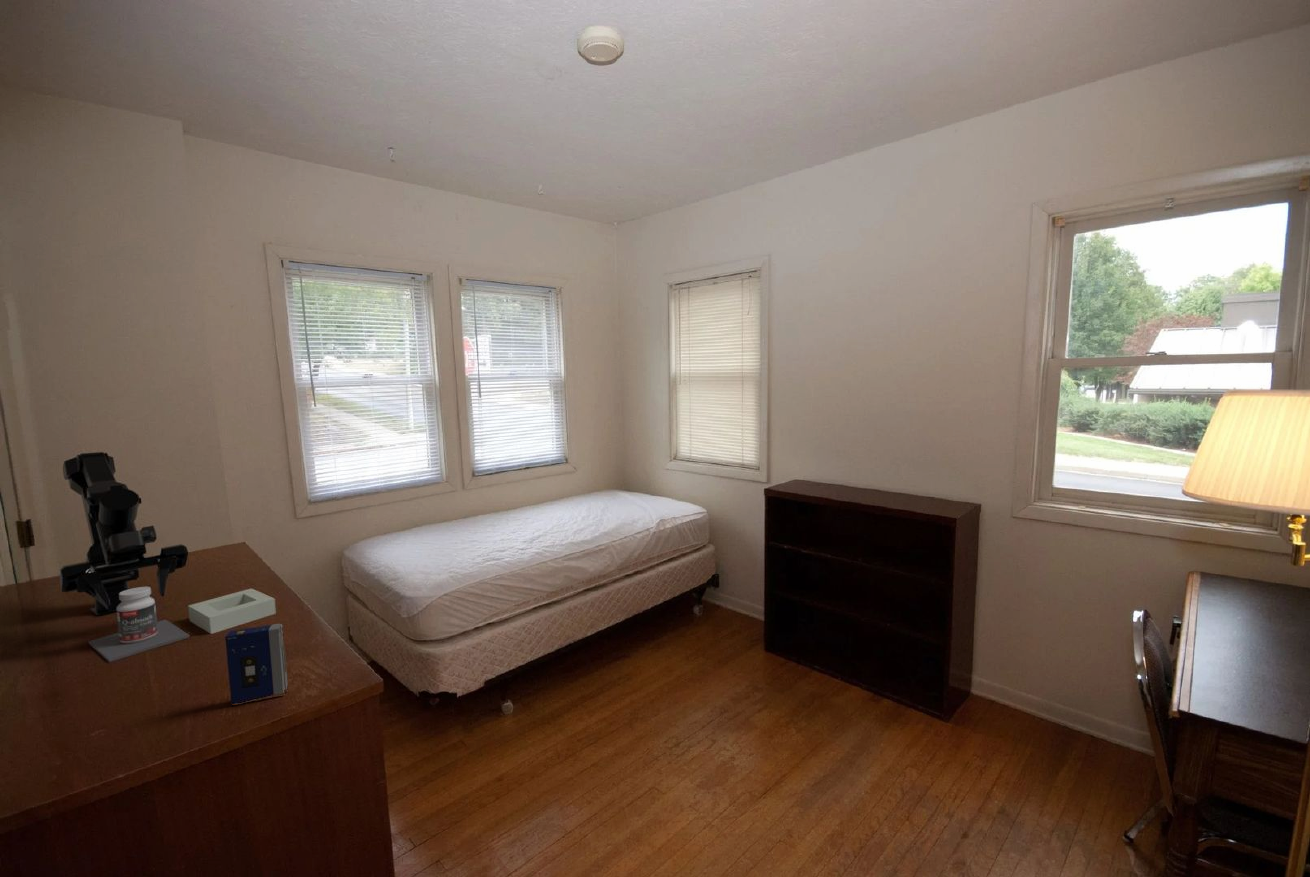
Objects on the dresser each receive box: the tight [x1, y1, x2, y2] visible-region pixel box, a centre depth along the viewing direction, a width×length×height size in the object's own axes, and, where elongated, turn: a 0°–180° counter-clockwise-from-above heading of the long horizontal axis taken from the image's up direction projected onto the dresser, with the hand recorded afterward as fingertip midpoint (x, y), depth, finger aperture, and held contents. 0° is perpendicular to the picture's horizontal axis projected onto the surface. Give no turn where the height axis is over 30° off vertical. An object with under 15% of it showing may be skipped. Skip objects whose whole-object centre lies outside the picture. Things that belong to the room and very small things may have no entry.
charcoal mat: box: [88, 619, 190, 663], centre depth 111 cm, size 14×12×1 cm
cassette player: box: [224, 622, 289, 705], centre depth 90 cm, size 7×2×12 cm, turn 114°
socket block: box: [187, 588, 277, 635], centre depth 122 cm, size 12×12×4 cm
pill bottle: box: [116, 586, 158, 643], centre depth 111 cm, size 6×6×10 cm
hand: (136, 601), depth 110 cm, fingers open, 8 cm apart
